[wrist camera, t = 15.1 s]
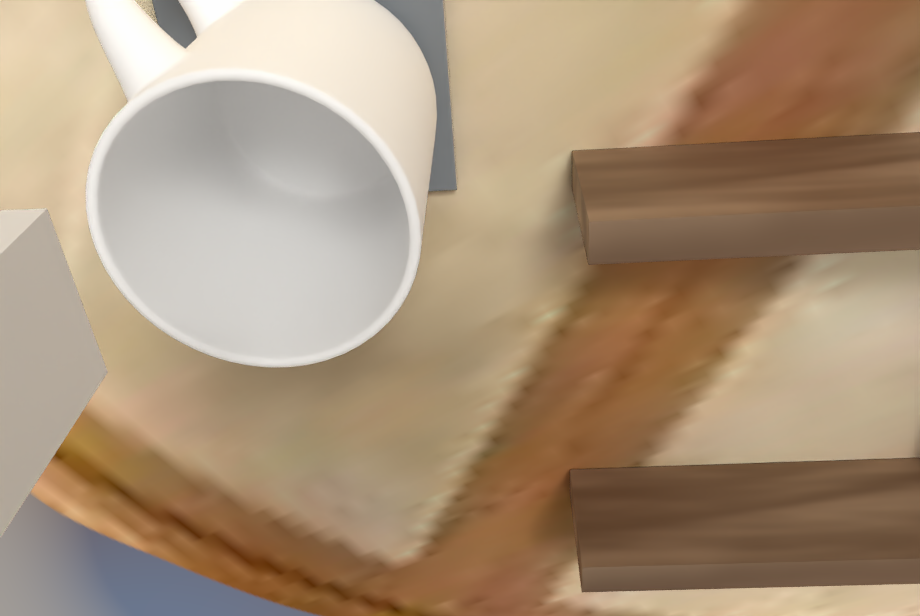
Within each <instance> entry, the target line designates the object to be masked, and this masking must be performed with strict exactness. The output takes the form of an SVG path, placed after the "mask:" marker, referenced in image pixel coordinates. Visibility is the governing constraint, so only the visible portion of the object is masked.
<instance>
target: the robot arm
mask: <svg viewBox="0 0 920 616" xmlns="http://www.w3.org/2000/svg"><path fill="white" fill-rule="evenodd" d="M107 373H108V371H107V369H106V366H105V363H104V361H103V358H102V355H101V353H100V350H99V347H98V344H97V342H96V339H95V336H94V334H93V331H92V328H91V326H90V323H89V320H88V318H87V315H86V312H85V310H84V307H83V304H82V301H81V299H80V296H79V293H78V291H77V288H76V285H75V283H74V280H73V277H72V275H71V272H70V269H69V266H68V264H67V261H66V258H65V256H64V253H63V250H62V248H61V245H60V242H59V240H58V237H57V234H56V231H55V229H54V226H53V223H52V221H51V218H50V215H49V213H48V210H47V208H46V209H20V210H0V538H1V536H2V535H3V533H4V532H5V530H6V529H7V527H8V526H9V524H10V523H11V521H12V519H13V518H14V516H15V515H16V513H17V512H18V510H19V509H20V507H21V506H22V504H23V502H24V501H25V499H26V498H27V496H28V495H29V493H30V492H31V490H32V489H33V487H34V485H35V484H36V482H37V481H38V479H39V478H40V476H41V475H42V473H43V472H44V470H45V468H46V467H47V465H48V464H49V462H50V461H51V459H52V458H53V456H54V454H55V453H56V451H57V450H58V448H59V447H60V445H61V444H62V442H63V441H64V439H65V437H66V436H67V434H68V433H69V431H70V430H71V428H72V427H73V425H74V424H75V422H76V420H77V419H78V417H79V416H80V414H81V413H82V411H83V410H84V408H85V407H86V405H87V403H88V402H89V400H90V399H91V397H92V396H93V394H94V393H95V391H96V390H97V388H98V386H99V385H100V383H101V382H102V380H103V379H104V377H105V376H106V374H107Z"/></svg>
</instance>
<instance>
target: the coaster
mask: <svg viewBox="0 0 920 616" xmlns="http://www.w3.org/2000/svg"><path fill="white" fill-rule="evenodd" d="M375 1H376V2H378V3H379V4H380V5H382V6H383V7H384V8H386V9H387V10H389V11H390V12H391V13H392V14H393V15H394V16H395V17H396V18H397V19H398V20H399V21H400V22H401V23H402V24H403V25H404V26H405V28H406V29H407V30H408V31H409V32H410V34H411V35H412V36H413V38H414V40H415V41H416V43H417V44H418V46H419V47H420V49H421V51H422V53H423V55H424V58H425V60H426V62H427V64H428V66H429V69H430V73H431V76H432V79H433V83H434V88H435V93H436V107H437V121H436V133H435V142H434V150H433V158H432V166H431V174H430V182H429V190H428V191H441V190H457V174H456V161H455V147H454V133H453V119H452V106H451V92H450V78H449V65H448V51H447V37H446V23H445V10H444V0H375ZM152 2H153V6H154V10H155V13H156V17H157V21H158V25H159V26H160V27H161V28H162V29H163V30H164V31H165V32H166V33H167V34H168V35H169V36H170V37H171V38H173V39H174V40H175V41H176V42H177V43H178V44H180V45H181V46H182V47H184V48H185V49H186V48H187V47H188V46H189V45H190V44H191V43H192V42H193V41H194V40H195V39H196V38H197V36H196V33H195V31H194V28H193V26H192V24H191V22H190V20H189V18H188V16H187V14H186V13H185V11H184V9H183V7H182V6H181V4H180V3H179V1H178V0H152Z"/></svg>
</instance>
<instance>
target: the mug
mask: <svg viewBox="0 0 920 616" xmlns="http://www.w3.org/2000/svg"><path fill="white" fill-rule="evenodd" d="M178 1H179V3H180V4H181V6H182V7H183V9H184V11H185V13H186V14H187V16H188V18H189V20H190V22H191V24H192V26H193V28H194V31H195V33H196V36H197V38H196V39H195V40H194V41H193V42H192V43H191V44H190V45H189V46H188V47H187V48H186V49H185V48H184V47H182V46H181V45H180V44H178V43H177V42H176V41H175V40H174V39H173V38H171V37H170V36H169V35H168V34H167V33H166V32H165V31H164V30H163V29H162V28H161V27H160V26H159V25H157V24H156V23H155V22H154V21H153V20H152V19H151V18H150V17H149V16H148V15H147V13H146V12H145V11H144V10H143V9H142V8H141V7H140V6H139V5H138V4H137V2H136V1H135V0H85V2H86V6H87V11H88V13H89V16H90V19H91V22H92V25H93V28H94V30H95V33H96V35H97V37H98V39H99V41H100V44H101V46H102V48H103V50H104V52H105V54H106V56H107V58H108V60H109V62H110V64H111V67H112V69H113V71H114V73H115V75H116V77H117V79H118V81H119V83H120V85H121V87H122V89H123V92H124V94H125V96H126V99H127V104H126V105H125V106H124V107H123V108H122V109H121V110H120V111H119V112H118V113H117V114H116V115H115V116H114V118H113V119H112V120H111V122H110V123H109V124H108V126H107V127H106V128H105V130H104V131H103V133H102V135H101V137H100V139H99V141H98V143H97V145H96V147H95V149H94V152H93V155H92V158H91V162H90V165H89V168H88V175H87V182H86V212H87V218H88V224H89V229H90V233H91V236H92V239H93V243H94V246H95V249H96V251H97V253H98V255H99V257H100V260H101V262H102V264H103V266H104V268H105V269H106V271H107V273H108V274H109V276H110V278H111V279H112V281H113V282H114V284H115V285H116V286H117V288H118V289H119V290H120V292H121V293H122V294H123V295H124V297H125V298H126V299H127V300H128V301H129V302H130V303H131V304H132V305H133V306H134V307H135V308H136V310H137V311H138V312H139V313H140V314H141V315H143V316H144V317H145V318H146V319H148V320H149V321H150V322H151V323H152V324H154V325H155V326H156V327H157V328H159V329H160V330H162V331H163V332H165V333H166V334H168V335H169V336H171V337H172V338H174V339H176V340H177V341H179V342H181V343H183V344H185V345H187V346H189V347H191V348H193V349H195V350H197V351H200V352H202V353H205V354H207V355H210V356H212V357H216V358H219V359H222V360H226V361H229V362H233V363H239V364H244V365H249V366H259V367H295V366H303V365H309V364H314V363H318V362H322V361H326V360H329V359H331V358H334V357H337V356H340V355H342V354H345V353H346V352H348V351H350V350H352V349H354V348H356V347H358V346H360V345H361V344H363V343H364V342H366V341H367V340H368V339H370V338H371V337H373V336H374V335H375V334H377V333H378V332H379V331H380V330H381V329H382V328H383V327H384V326H385V325H386V324H387V323H388V322H389V321H390V320H391V319H392V317H393V316H394V315H395V314H396V313H397V311H398V310H399V309H400V307H401V306H402V304H403V302H404V301H405V299H406V297H407V295H408V294H409V292H410V289H411V287H412V284H413V282H414V279H415V277H416V273H417V269H418V264H419V260H420V254H421V246H422V238H423V230H424V222H425V214H426V206H427V198H428V190H429V182H430V174H431V166H432V158H433V150H434V142H435V133H436V121H437V107H436V93H435V88H434V83H433V79H432V76H431V73H430V69H429V66H428V64H427V62H426V60H425V58H424V55H423V53H422V51H421V49H420V47H419V46H418V44H417V43H416V41H415V40H414V38H413V36H412V35H411V34H410V32H409V31H408V30H407V29H406V28H405V26H404V25H403V24H402V23H401V22H400V21H399V20H398V19H397V18H396V17H395V16H394V15H393V14H392V13H391V12H390V11H389V10H387V9H386V8H384V7H383V6H382V5H380V4H379V3H378V2H376V1H375V0H178Z"/></svg>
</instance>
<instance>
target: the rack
mask: <svg viewBox="0 0 920 616" xmlns="http://www.w3.org/2000/svg"><path fill="white" fill-rule="evenodd" d="M572 191H573V196H574V201H575V205H576V210H577V214H578V219H579V224H580V228H581V233H582V237H583V242H584V247H585V251H586V256H587V260H588V265H593V264H615V263H636V262H658V261H680V260H702V259H723V258H745V257H767V256H788V255H810V254H832V253H853V252H875V251H897V250H919V249H920V132H916V133H897V134H879V135H860V136H841V137H822V138H804V139H785V140H766V141H747V142H729V143H710V144H691V145H672V146H654V147H635V148H616V149H597V150H579V151H572ZM570 499H571V507H572V516H573V524H574V532H575V540H576V548H577V556H578V564H579V572H580V581H581V589H582V592H607V591H646V590H686V589H725V588H764V587H804V586H843V585H882V584H920V458H904V459H874V460H844V461H814V462H784V463H754V464H724V465H693V466H663V467H633V468H603V469H573V470H570Z"/></svg>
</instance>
